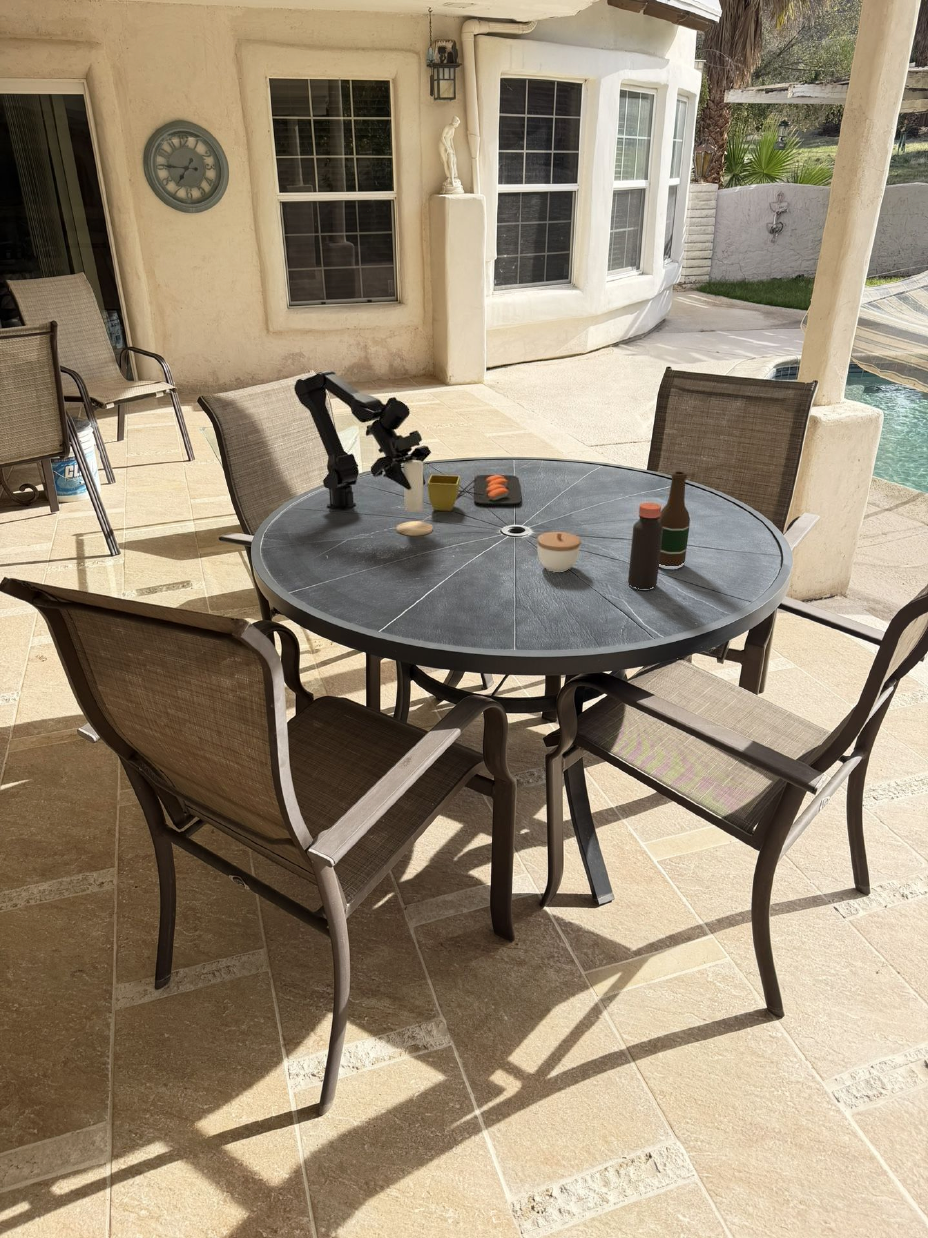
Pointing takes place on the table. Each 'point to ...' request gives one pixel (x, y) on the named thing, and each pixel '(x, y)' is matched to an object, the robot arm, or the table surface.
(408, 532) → the cork coaster
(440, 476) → the flower pot
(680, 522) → the beer bottle
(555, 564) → the lidded jar
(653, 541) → the vinegar
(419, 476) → the cream glossy rounded body
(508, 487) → the sushi plate
